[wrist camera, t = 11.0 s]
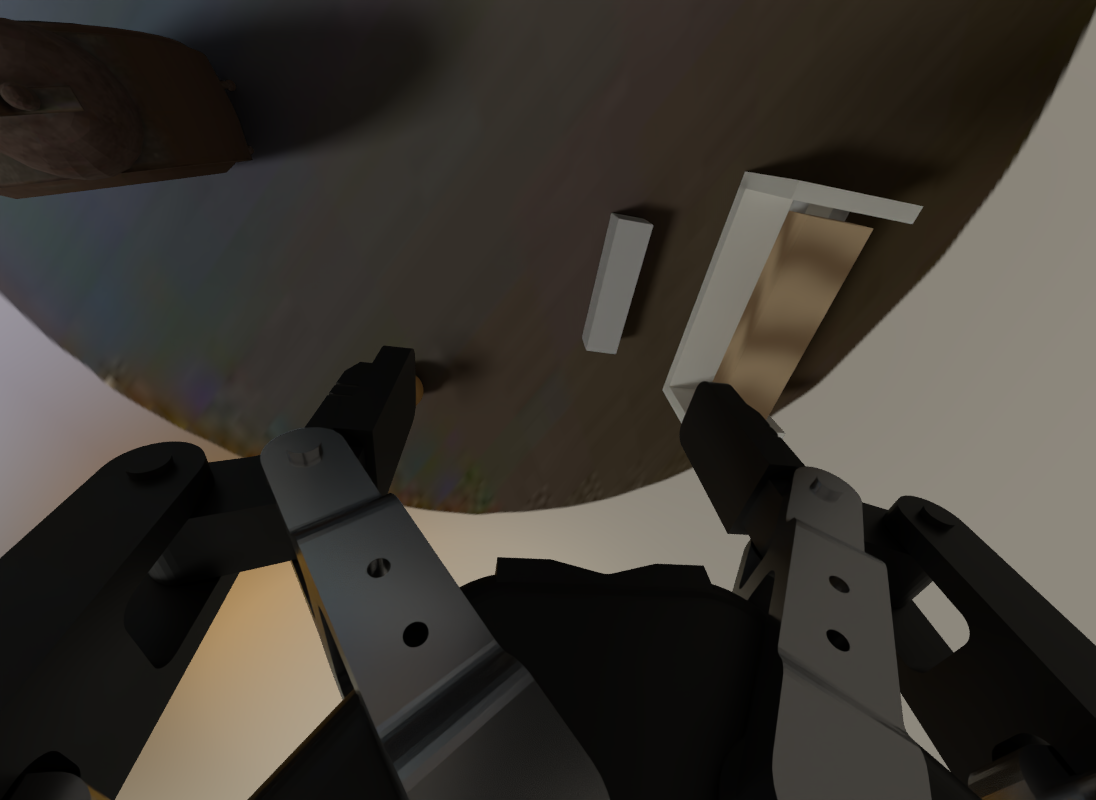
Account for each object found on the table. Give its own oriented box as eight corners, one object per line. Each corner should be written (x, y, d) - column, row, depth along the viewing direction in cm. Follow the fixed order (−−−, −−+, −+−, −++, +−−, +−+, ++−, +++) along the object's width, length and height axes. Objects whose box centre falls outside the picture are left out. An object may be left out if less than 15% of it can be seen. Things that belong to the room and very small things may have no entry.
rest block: (611, 212, 36) (618, 218, 33) (644, 218, 36) (653, 225, 34) (582, 337, 42) (586, 350, 40) (610, 341, 43) (615, 354, 40)
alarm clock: (256, 43, 28) (-117, -87, 12) (301, 162, 32) (70, 193, 16) (49, 68, 28) (-616, -24, 12) (120, 184, 32) (-302, 239, 16)
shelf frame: (745, 171, 35) (799, 180, 28) (848, 193, 36) (923, 206, 30) (662, 389, 46) (686, 433, 40) (742, 399, 48) (779, 442, 41)
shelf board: (789, 210, 32) (808, 216, 30) (850, 222, 33) (873, 228, 31) (703, 401, 41) (713, 415, 39) (752, 407, 42) (765, 421, 40)
